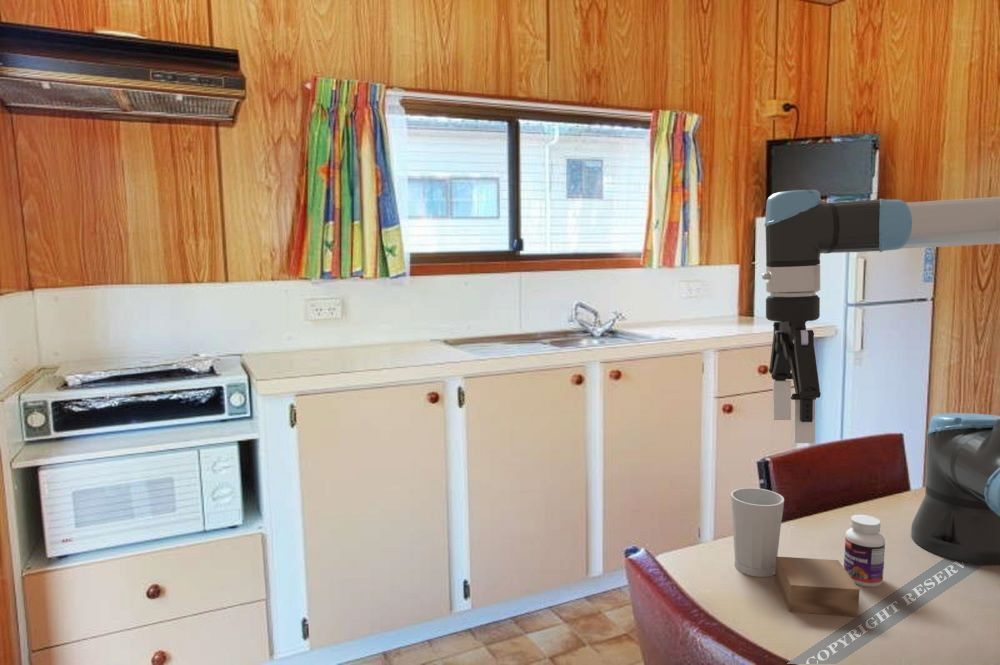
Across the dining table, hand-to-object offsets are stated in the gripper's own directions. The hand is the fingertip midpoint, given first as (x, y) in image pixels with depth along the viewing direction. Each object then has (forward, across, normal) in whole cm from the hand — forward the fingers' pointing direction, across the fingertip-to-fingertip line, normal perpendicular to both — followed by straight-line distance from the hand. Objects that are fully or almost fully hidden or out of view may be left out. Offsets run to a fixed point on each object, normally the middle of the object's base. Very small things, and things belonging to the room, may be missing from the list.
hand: (792, 430), depth 102 cm
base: (+23, +8, +1) cm, 25 cm away
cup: (+23, -1, -5) cm, 24 cm away
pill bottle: (+24, +1, +10) cm, 26 cm away
